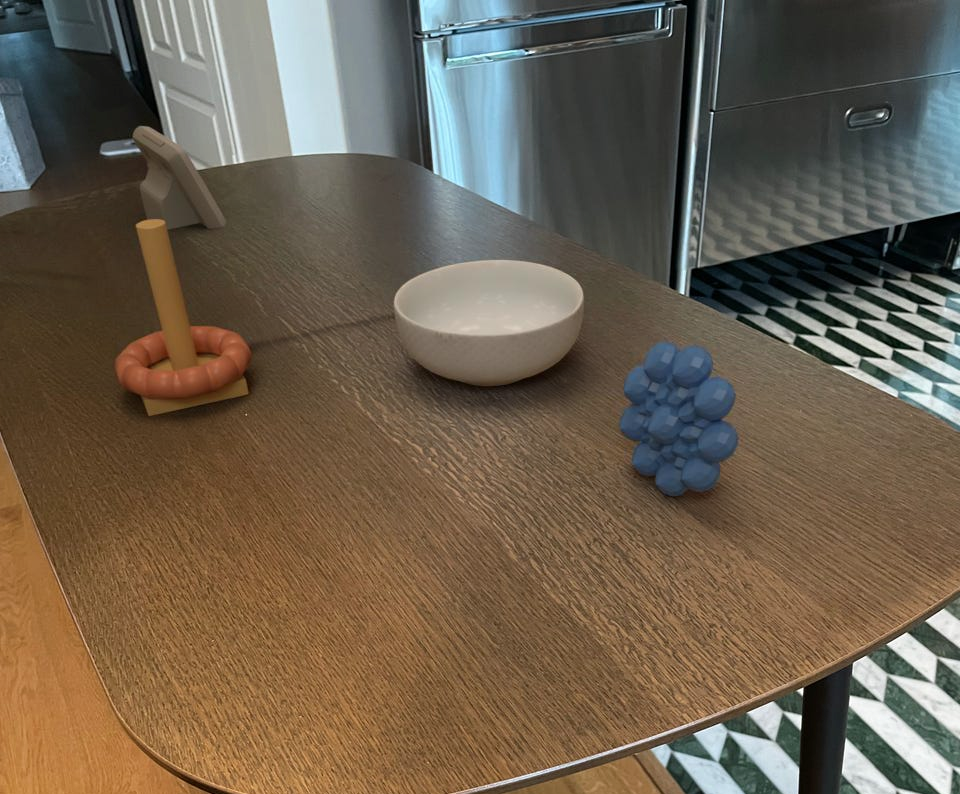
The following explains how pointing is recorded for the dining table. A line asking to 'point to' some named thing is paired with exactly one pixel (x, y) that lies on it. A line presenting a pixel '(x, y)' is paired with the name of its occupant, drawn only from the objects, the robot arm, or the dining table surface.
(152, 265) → the peg stand
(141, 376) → the ring
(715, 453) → the grapes
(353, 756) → the dining table surface
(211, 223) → the digital clock
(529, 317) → the cereal bowl
